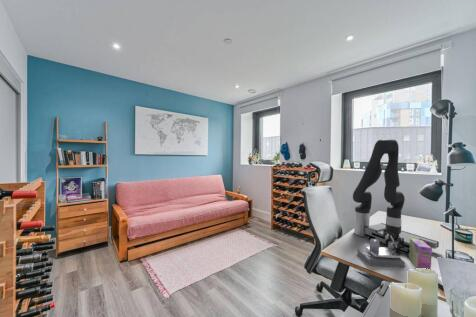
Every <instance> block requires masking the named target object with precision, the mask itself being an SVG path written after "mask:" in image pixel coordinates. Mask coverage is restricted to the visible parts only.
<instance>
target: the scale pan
mask: <svg viewBox="0 0 476 317" xmlns="http://www.w3.org/2000/svg"><path fill="white" fill-rule="evenodd" d="M365 250H368V251H369V252H370V253H371V254H373V255H374V256H375V257H388V258H400V259H401V255H400V254H397V253H396V252H394V251H393V250H391V249H390V248H388V247H380V246H379V253H374V252H372V251H370V246H365Z"/></svg>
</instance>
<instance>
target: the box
mask: <svg viewBox="0 0 476 317" xmlns="http://www.w3.org/2000/svg"><path fill="white" fill-rule="evenodd" d="M432 253H433V248H431V247H430V246H429V245H427V244H426V243H425V242H424V241H423V240H418V239H411V238H410V250H409V254H408V259H410V261H411V262H412V263H413V265H414V266H415V267H416V268H418V269H422V268H428V269H432V255H433V254H432ZM428 269H427V270H428Z"/></svg>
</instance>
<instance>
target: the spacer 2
mask: <svg viewBox="0 0 476 317" xmlns="http://www.w3.org/2000/svg"><path fill="white" fill-rule="evenodd" d="M387 248H390V249H391V250H393V251H394V252H395V249H396V246H395V244H394V243H393V242H392V241H388V247H387Z"/></svg>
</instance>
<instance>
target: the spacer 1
mask: <svg viewBox="0 0 476 317" xmlns="http://www.w3.org/2000/svg"><path fill="white" fill-rule="evenodd" d="M369 247H370V251H372V252H374V253H379V247H380V243H379V240H376V239H370V240H369Z"/></svg>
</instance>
